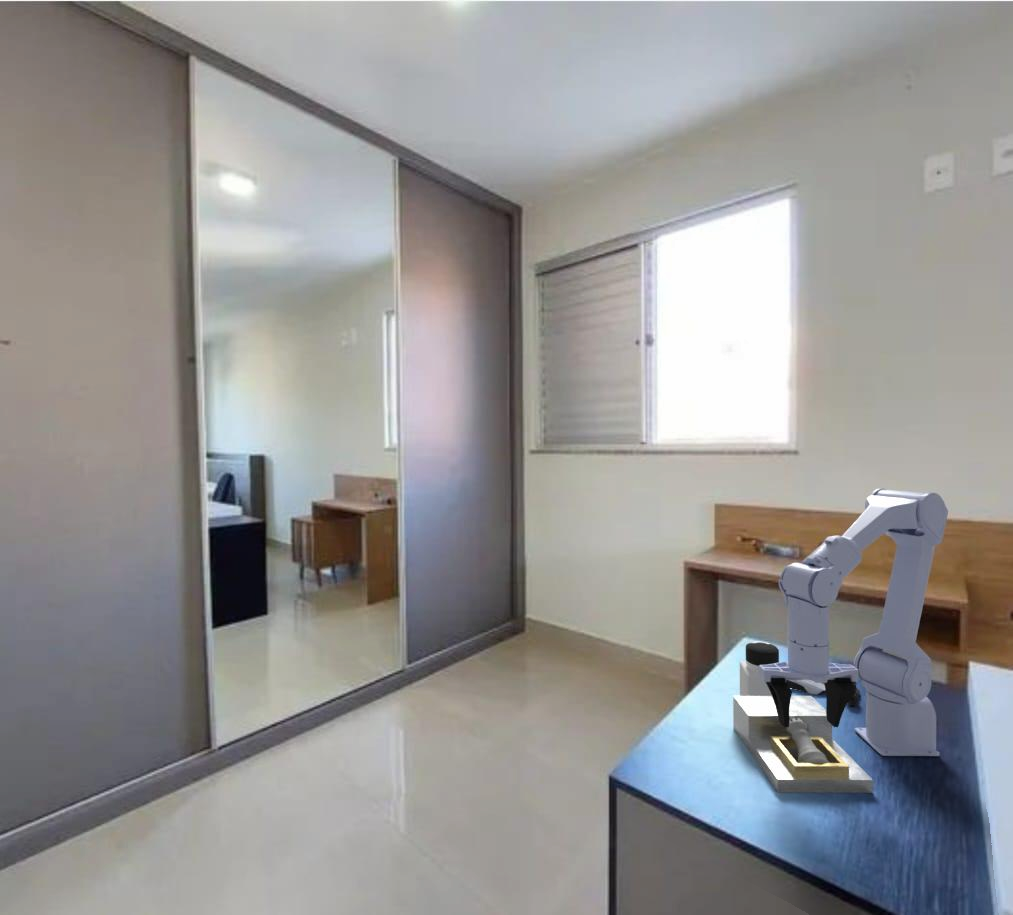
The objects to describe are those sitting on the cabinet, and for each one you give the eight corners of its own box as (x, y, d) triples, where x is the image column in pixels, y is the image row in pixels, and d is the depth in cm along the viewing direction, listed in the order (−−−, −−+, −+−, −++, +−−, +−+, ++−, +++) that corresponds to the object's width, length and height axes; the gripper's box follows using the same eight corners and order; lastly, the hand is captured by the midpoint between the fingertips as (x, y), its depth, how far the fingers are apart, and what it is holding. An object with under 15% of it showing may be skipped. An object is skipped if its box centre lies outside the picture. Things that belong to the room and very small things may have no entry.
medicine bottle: (787, 714, 104) (786, 653, 104) (747, 711, 106) (747, 650, 105) (776, 696, 111) (776, 639, 111) (739, 693, 113) (739, 637, 112)
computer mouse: (766, 671, 124) (766, 654, 124) (861, 691, 113) (861, 672, 113) (757, 688, 116) (757, 670, 115) (859, 712, 105) (859, 692, 105)
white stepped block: (810, 727, 99) (810, 695, 99) (872, 792, 81) (873, 754, 81) (733, 727, 100) (733, 696, 100) (777, 792, 82) (777, 753, 82)
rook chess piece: (825, 757, 82) (802, 710, 89) (796, 766, 84) (776, 719, 91) (835, 772, 84) (812, 725, 91) (807, 781, 85) (786, 734, 92)
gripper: (772, 650, 82) (773, 737, 82) (871, 649, 81) (870, 737, 82) (753, 633, 89) (754, 713, 90) (843, 632, 88) (843, 713, 89)
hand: (808, 723), depth 86 cm, fingers open, 7 cm apart
